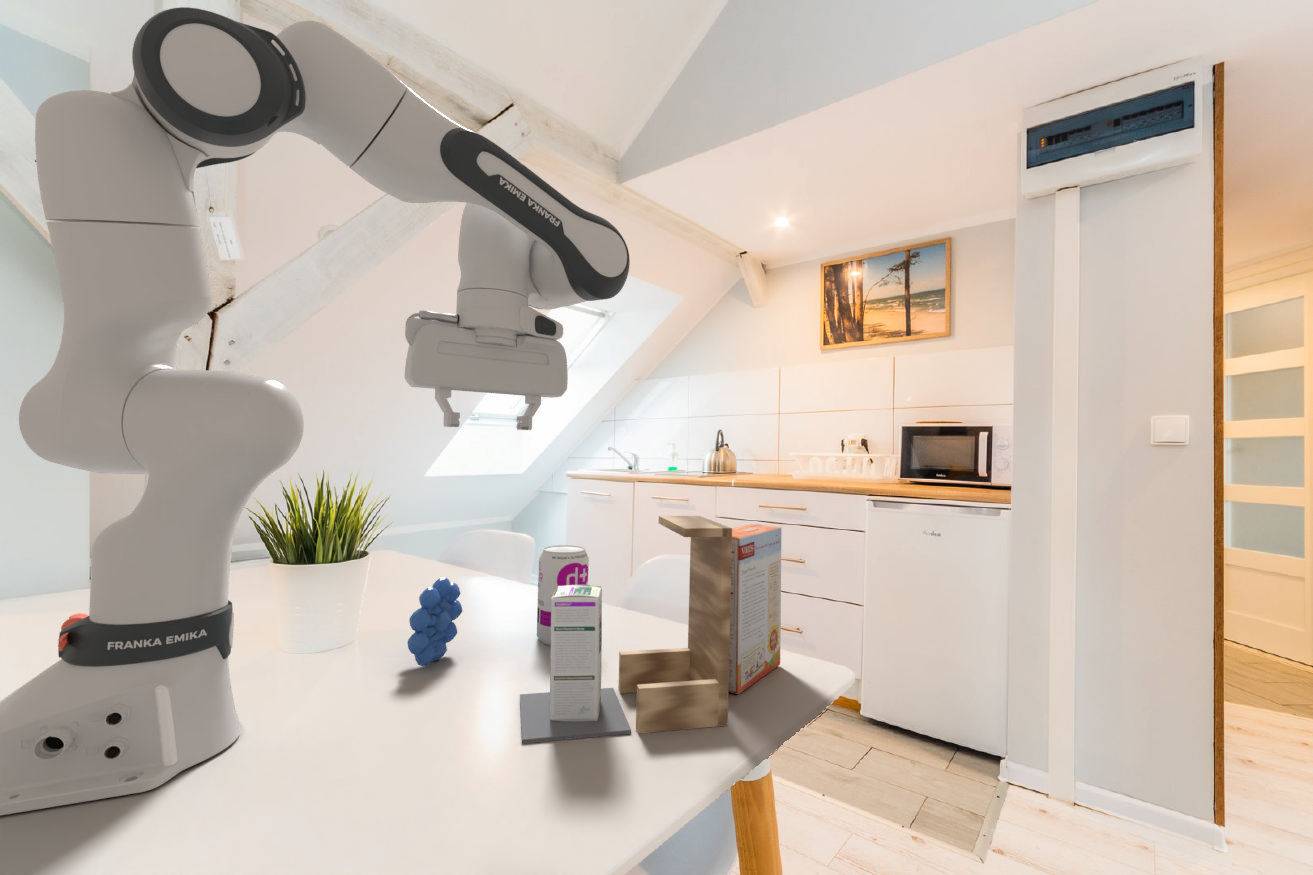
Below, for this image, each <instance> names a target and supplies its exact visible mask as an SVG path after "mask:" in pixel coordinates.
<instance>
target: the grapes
mask: <svg viewBox="0 0 1313 875" xmlns="http://www.w3.org/2000/svg"><path fill="white" fill-rule="evenodd" d="M460 596H461V590H460V587H459V585H458V584H457V583H455V582H451V581H450V579H449V578H447V577H444V576H443V577H440V578H438V579H437V580H435V582H434V583H433V584H432V585H431V586H430V587H429V586H428V587H427V588H426V589H424V590H423V591H422V593H421V594H420V595H419V597H418V600H419V604H420V606H421V607H420V608H418V609H416V610H415V611H414V612H412V614H411V615H410V617H409V626H410V628H411V629H412V631H414V633H412V634H411V635H410V637H409V638H408V640H407V648H408V651H409V652H410V654H413V655H414V659H415V662H416V664H417V665H419V666H421V667H425V666H427V665H428V664H430V663H431V662H432V661H433V662H436V661H439V660H440V659H441V658H443V657H444V655H445V654H446V653H447V651H448V646H447V644H448V643H450V642H451V641H452V640H454V638H455V637H456V636H457V634H458V628H457V626H456V624H455V622H453V621H455V620H457V619H458V618H459V617H460V615H461V614H462V613H463V612H464V611H463V605H462V604H461V602H460V600H458V599H459V597H460Z"/></svg>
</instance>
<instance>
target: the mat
mask: <svg viewBox="0 0 1313 875" xmlns="http://www.w3.org/2000/svg"><path fill="white" fill-rule="evenodd" d="M519 710H520V729H521V730H520V731H521V733H520V734H521V744H529V743H530V744H531V743H540V742H541V743H542V742H552V741H562V740H572V739H573V740H574V739H583V738H586V739H587V738H596V737H607V736H618V735H630V734H632V729H631V726H630V724H629V722H628V720H627V717H626V714H625V712H624V710H623V707H622V706H621V703H620V700H619V698H618V696H617V693H616V691H615V689H614V687H605V688H603V687H601V703H600V711H599V716H598V720H597V721H553V720H550V691H547V692H535V693H534V692H533V693H522V694H521V693H520V694H519Z"/></svg>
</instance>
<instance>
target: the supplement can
mask: <svg viewBox="0 0 1313 875" xmlns="http://www.w3.org/2000/svg"><path fill="white" fill-rule="evenodd" d="M589 562H590V559H589V555H588V553H587V551H586V548H585V547H584V546H579V545H572V544H571V545H568V544H566V545H565V544H564V545H562V544H560V545H550V546H549V545H548V546H545V547H543V549H542V552H541V554H540V556H539V557H538V574H537V575H538V576H537V577H538V578H537V579H538V583H537V586H538V587H537V611H536V612H537V617H536V637H537V638H538V639H539V640H540V641H541V643H543V644H545V645H548V646H551V598H552V596H553V594H554V592H555V591H556V590H557V588H558V586H566V585H589V564H590V563H589Z"/></svg>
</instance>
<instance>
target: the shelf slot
mask: <svg viewBox="0 0 1313 875" xmlns="http://www.w3.org/2000/svg"><path fill="white" fill-rule="evenodd" d="M658 524H659V525H661V526H663V527H664V528H666V529H668V530H670V531H671V532H674V533H676V534H678V535H680V536H682V537H684V538H690V543H689V544H690V546H689V547H690V552H689V555H690V556H689V585H688V586H689V591H688V592H689V594H688V600H689V601H688V628H687V630H688V634H687V647H682V648H681V647H679V648H677V647H675V648H662V649H660V648H659V649H643V650H627V651H626V650H623V651H619V652H618V653H619V654H618V656H619V657H618V685H617V686H618V688H617V690H618V692H619V694H627V693H630V694H631V693H636V708H635V709H636V712H635V729H636V733H637V734H646V733H655V732H656V733H658V732H669V731H680V730H689V729H690V730H691V729H700V728H701V729H702V728H711V727H712V728H715V727H723V726H728V720H729V719H728V716H729V714H728V713H729V692H728V682H729V640H730V598H731V556H732V528H733V527H730V526H728V525H725V524H722V523H719V522H717V521H714V520H712V519H709V518H706V517H704V516H701V515H658Z"/></svg>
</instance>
